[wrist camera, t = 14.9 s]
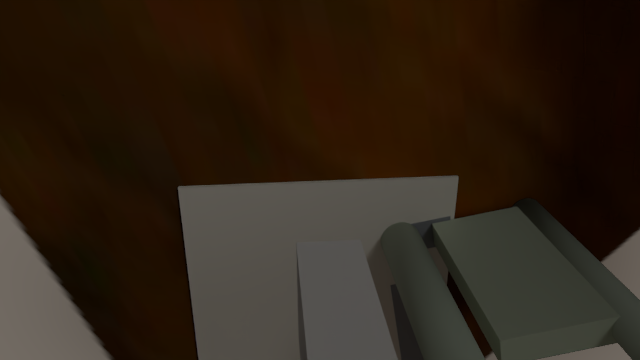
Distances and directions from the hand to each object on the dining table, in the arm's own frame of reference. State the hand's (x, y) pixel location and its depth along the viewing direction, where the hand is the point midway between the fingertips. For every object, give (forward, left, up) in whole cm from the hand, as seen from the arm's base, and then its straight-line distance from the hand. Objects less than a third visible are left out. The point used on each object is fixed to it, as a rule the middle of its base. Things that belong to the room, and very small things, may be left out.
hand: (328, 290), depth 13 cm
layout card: (-2, +17, -24) cm, 30 cm away
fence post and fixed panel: (-13, +12, -24) cm, 30 cm away
